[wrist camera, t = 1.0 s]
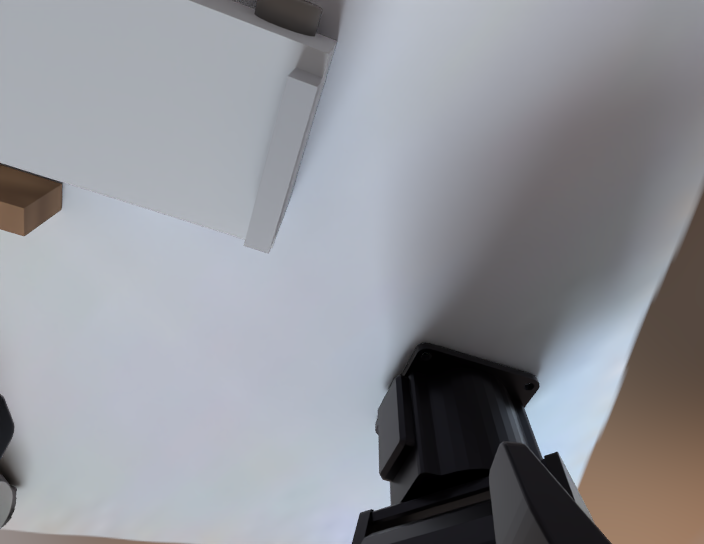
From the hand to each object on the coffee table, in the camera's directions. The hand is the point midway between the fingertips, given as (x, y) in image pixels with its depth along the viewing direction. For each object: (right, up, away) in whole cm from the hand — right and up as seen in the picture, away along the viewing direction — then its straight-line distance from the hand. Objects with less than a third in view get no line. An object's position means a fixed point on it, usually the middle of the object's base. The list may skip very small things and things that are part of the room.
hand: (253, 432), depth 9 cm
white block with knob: (-4, +10, +9) cm, 14 cm away
